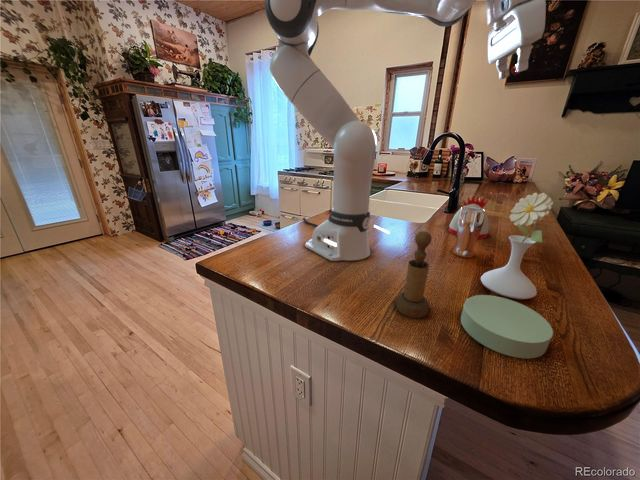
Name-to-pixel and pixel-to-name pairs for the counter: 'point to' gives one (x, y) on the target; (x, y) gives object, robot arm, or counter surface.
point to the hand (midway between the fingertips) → (512, 75)
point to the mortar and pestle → (416, 281)
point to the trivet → (506, 326)
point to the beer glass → (468, 230)
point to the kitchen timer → (471, 204)
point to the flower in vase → (519, 249)
